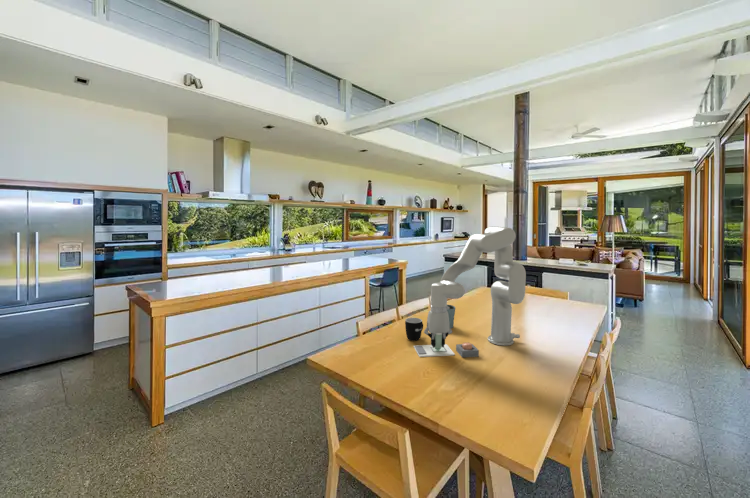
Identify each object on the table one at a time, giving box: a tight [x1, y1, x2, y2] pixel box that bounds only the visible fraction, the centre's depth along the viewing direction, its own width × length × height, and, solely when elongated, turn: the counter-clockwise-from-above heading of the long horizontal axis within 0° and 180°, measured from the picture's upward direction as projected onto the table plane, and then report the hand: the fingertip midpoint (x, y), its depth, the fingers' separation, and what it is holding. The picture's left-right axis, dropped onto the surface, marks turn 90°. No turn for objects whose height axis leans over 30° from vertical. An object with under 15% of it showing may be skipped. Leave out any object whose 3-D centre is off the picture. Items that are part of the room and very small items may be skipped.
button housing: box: [455, 343, 480, 358], centre depth 159 cm, size 8×8×3 cm
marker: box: [434, 333, 442, 350], centre depth 160 cm, size 4×4×8 cm
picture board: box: [413, 343, 456, 358], centre depth 162 cm, size 17×12×1 cm
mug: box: [404, 317, 424, 342], centre depth 178 cm, size 12×9×10 cm
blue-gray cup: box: [447, 304, 456, 329], centre depth 196 cm, size 10×10×12 cm
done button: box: [462, 342, 473, 350], centre depth 159 cm, size 4×4×3 cm
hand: (437, 345), depth 161 cm, fingers closed on marker, 3 cm apart
